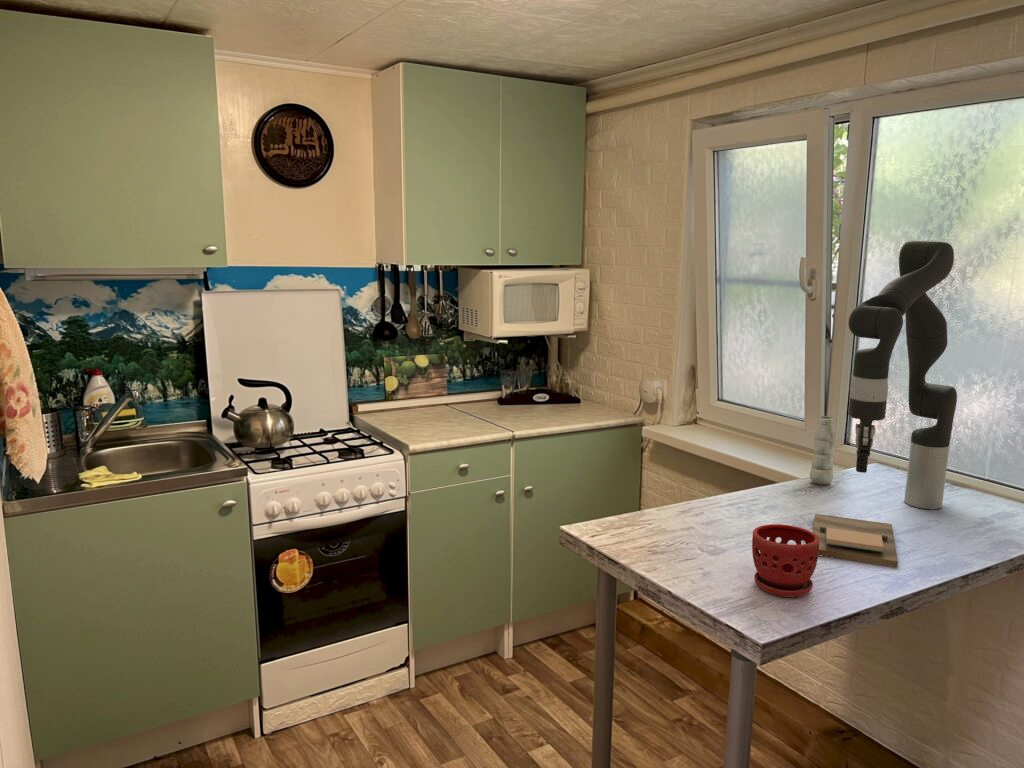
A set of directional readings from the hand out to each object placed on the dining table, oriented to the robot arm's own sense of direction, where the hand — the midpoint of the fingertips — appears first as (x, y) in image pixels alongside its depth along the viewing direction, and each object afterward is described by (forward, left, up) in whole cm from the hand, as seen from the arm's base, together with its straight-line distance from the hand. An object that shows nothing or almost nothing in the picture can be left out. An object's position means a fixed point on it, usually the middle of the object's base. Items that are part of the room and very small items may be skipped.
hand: (861, 471), depth 176 cm
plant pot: (+24, -14, -20) cm, 34 cm away
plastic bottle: (-51, -8, -20) cm, 56 cm away
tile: (-3, 0, -17) cm, 17 cm away
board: (-8, 0, -20) cm, 22 cm away
